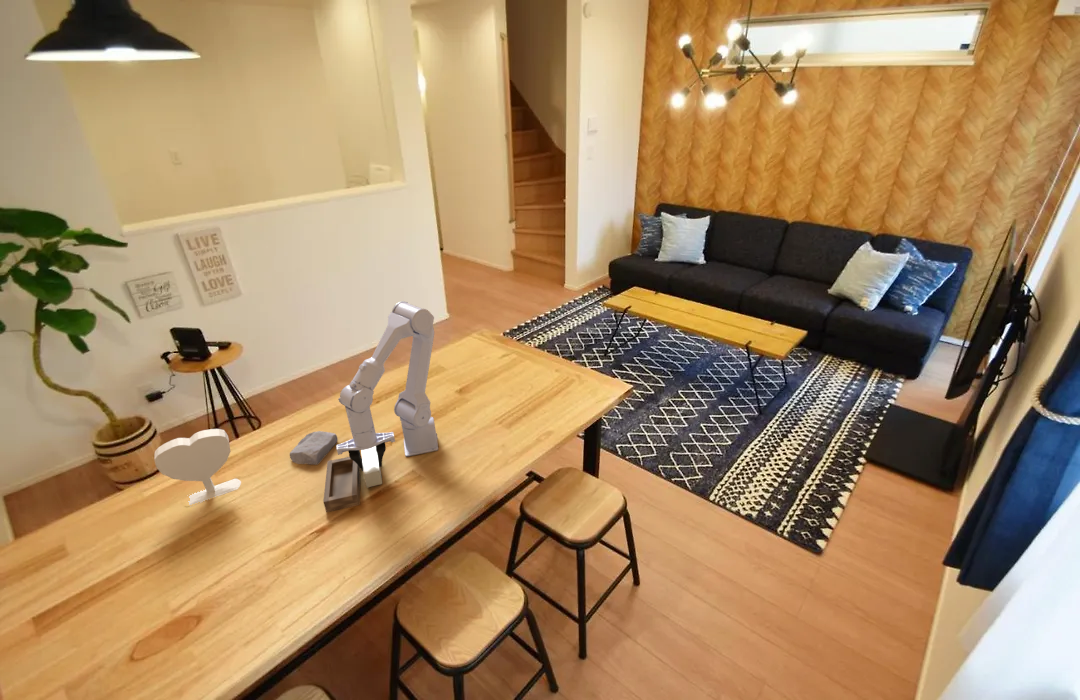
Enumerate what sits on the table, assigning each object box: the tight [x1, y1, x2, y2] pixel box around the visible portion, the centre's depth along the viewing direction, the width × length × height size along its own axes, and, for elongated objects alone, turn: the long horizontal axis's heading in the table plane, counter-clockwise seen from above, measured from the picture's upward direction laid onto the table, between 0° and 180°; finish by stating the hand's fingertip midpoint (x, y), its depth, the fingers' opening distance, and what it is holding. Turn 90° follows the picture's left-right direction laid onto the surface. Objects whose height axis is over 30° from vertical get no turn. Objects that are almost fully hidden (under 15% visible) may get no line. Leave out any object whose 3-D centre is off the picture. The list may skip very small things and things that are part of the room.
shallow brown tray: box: [323, 456, 361, 513], centre depth 130 cm, size 8×16×4 cm, turn 17°
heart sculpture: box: [153, 428, 242, 505], centre depth 125 cm, size 16×5×18 cm, turn 124°
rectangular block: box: [360, 446, 383, 488], centre depth 133 cm, size 4×12×4 cm, turn 21°
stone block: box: [289, 430, 338, 466], centre depth 143 cm, size 12×5×10 cm
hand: (371, 466), depth 133 cm, fingers closed on rectangular block, 4 cm apart
